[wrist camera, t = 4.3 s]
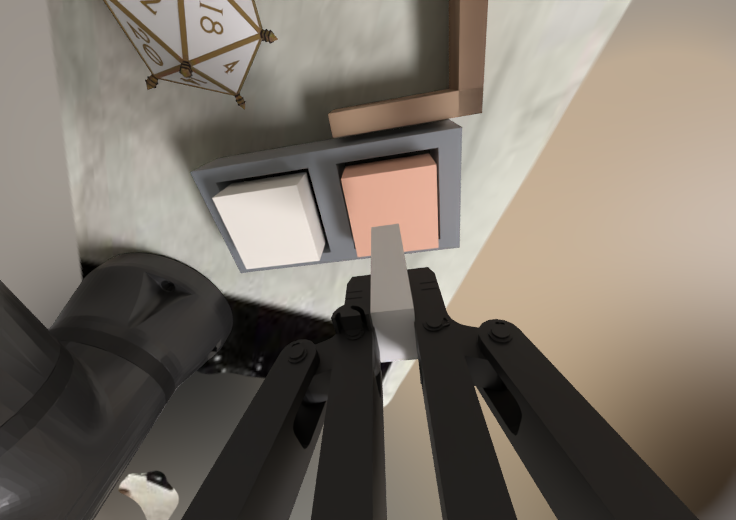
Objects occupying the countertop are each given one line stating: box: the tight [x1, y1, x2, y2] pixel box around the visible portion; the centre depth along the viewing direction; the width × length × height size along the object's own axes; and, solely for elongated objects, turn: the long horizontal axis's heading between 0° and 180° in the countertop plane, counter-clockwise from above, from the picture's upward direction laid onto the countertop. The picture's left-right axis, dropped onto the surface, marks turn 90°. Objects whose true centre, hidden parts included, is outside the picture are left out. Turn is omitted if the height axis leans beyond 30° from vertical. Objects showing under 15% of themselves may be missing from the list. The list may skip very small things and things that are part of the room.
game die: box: [103, 0, 277, 109], centre depth 15 cm, size 9×8×10 cm
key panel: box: [190, 119, 462, 273], centre depth 23 cm, size 19×9×4 cm, turn 99°
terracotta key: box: [341, 153, 439, 257], centre depth 20 cm, size 6×6×3 cm
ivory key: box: [212, 172, 326, 269], centre depth 22 cm, size 6×6×3 cm
